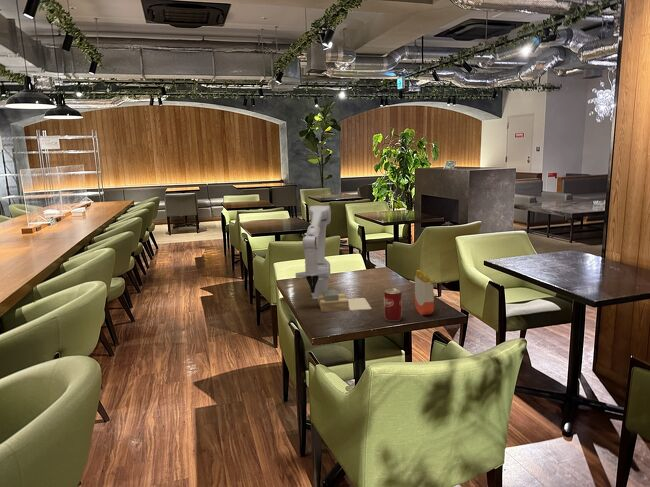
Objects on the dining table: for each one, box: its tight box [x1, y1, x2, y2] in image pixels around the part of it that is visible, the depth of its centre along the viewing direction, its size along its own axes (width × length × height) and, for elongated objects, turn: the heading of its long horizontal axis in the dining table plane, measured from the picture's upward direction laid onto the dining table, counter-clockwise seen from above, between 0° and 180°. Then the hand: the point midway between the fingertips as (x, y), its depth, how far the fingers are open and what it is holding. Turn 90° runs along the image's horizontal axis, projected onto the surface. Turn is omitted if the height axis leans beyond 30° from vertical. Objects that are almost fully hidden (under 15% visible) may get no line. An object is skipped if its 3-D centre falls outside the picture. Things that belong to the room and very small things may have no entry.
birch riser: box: [317, 292, 350, 313], centre depth 220 cm, size 14×12×4 cm
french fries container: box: [414, 269, 435, 316], centre depth 206 cm, size 5×11×18 cm, turn 11°
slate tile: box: [323, 289, 339, 301], centre depth 219 cm, size 9×6×2 cm, turn 7°
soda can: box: [383, 288, 403, 323], centre depth 200 cm, size 7×7×12 cm
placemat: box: [347, 297, 372, 312], centre depth 222 cm, size 16×10×1 cm, turn 7°
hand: (312, 292), depth 218 cm, fingers closed
